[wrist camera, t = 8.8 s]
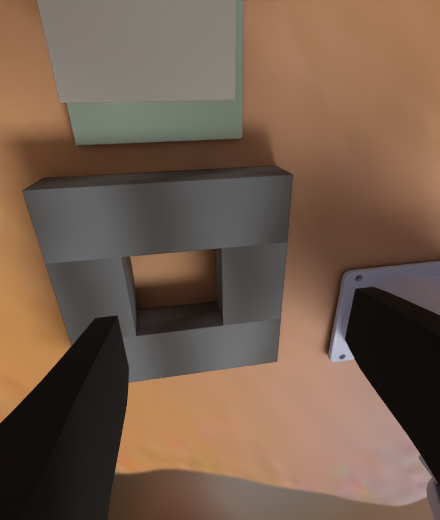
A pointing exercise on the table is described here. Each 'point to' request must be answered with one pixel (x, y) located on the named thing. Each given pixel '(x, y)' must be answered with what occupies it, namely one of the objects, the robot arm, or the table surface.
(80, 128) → the mat
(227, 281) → the pocket board
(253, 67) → the table surface
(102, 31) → the block
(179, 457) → the table surface
